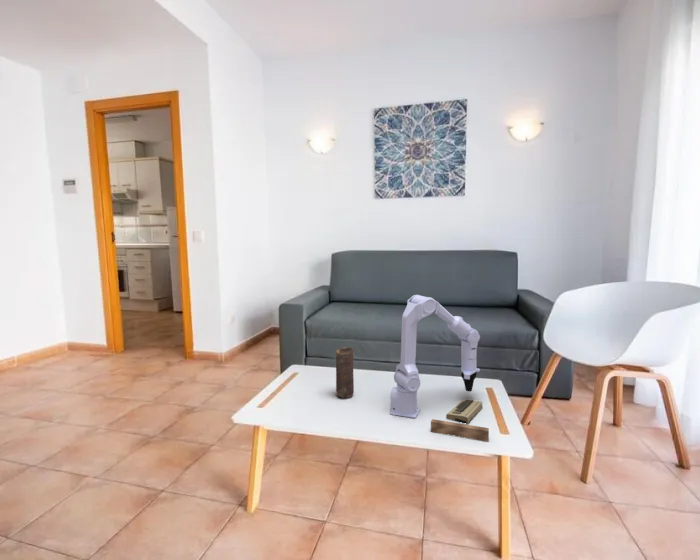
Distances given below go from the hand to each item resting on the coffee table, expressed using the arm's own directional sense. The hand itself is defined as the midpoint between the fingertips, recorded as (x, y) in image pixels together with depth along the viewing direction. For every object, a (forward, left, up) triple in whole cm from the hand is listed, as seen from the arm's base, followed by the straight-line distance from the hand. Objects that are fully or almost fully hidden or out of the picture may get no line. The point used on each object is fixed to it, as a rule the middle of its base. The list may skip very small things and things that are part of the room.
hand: (468, 390), depth 149 cm
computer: (0, -13, -4) cm, 14 cm away
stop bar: (0, -30, -4) cm, 30 cm away
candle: (-48, -14, -4) cm, 50 cm away
